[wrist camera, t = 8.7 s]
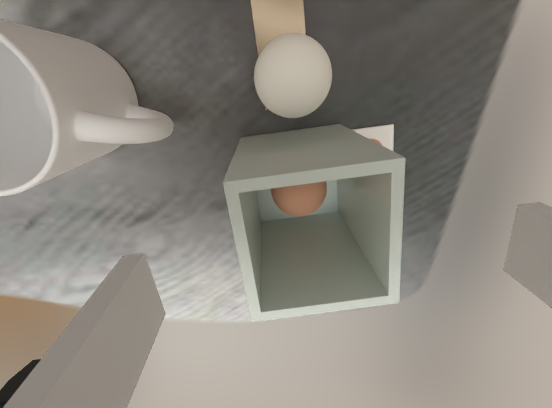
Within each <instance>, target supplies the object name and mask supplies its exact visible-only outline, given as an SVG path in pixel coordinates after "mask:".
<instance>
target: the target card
mask: <svg viewBox="0 0 552 408" xmlns="http://www.w3.org/2000/svg"><path fill="white" fill-rule="evenodd" d="M352 130H353V131H354V132H356V133H358V134H360V135H362V136H364V137H366V138H368V139H370V140H372V141H374V142H376V143H378V144H380V145H382V146H384V147H386V148H388V149H390V150H392V151H393V139H394V124H389V125H382V126H374V127H367V128H359V129H352Z"/></svg>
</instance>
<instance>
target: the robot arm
mask: <svg viewBox="0 0 552 408" xmlns="http://www.w3.org/2000/svg"><path fill="white" fill-rule="evenodd" d="M503 270H504V271H505V272H506V273H507V274H509V275H510V276H511V277H513V278H514V279H515V280H516V281H518V282H519V283H521V284H522V285H523V286H524V287H525V288H527V289H528V290H529V291H531V292H532V293H533V294H534V295H536V296H537V297H538V298H540V299H541V300H542V301H543V302H545V303H546V304H547V305H548V306H550V307H551V308H552V207H550V206H548V205H545V204H543V203H541V202H536V203H528V204H520V205H517V210H516V214H515V219H514V223H513V228H512V232H511V237H510V242H509V246H508V250H507V255H506V260H505V264H504V269H503ZM164 316H165V311H164V308H163V305H162V302H161V299H160V296H159V294H158V291H157V288H156V285H155V282H154V279H153V276H152V274H151V271H150V268H149V265H148V262H147V259H146V256H145V254H136V255H128V256H123V257H122V258H121V259H120V260H119V262H118V263H117V264H116V265H115V267H114V268H113V269H112V270H111V272H110V273H109V274H108V275H107V277H106V278H105V279H104V281H103V282H102V283H101V284H100V286H99V287H98V288H97V289H96V291H95V292H94V293H93V294H92V296H91V297H90V298H89V300H88V301H87V302H86V303H85V305H84V306H83V307H82V308H81V310H80V311H79V312H78V313H77V315H76V316H75V317H74V318H73V320H72V321H71V322H70V324H69V325H68V326H67V327H66V329H65V330H64V331H63V332H62V334H61V335H60V336H59V337H58V339H57V340H56V341H55V342H54V344H53V345H52V346H51V348H50V349H49V350H48V351H47V353H46V354H45V355H44V356H43V358H42V359H39V360H33V361H31V362H30V363H29V364H28V365H27V366H25V367H24V368H23V369H22V370H21V371H19V372H18V373H17V374H16V375H15V376H13V377H12V378H11V379H10V380H9V381H8V382H7V383H6V384H5V385H4V387H3V388H2V389H1V390H0V408H127V406H128V404H129V402H130V399H131V396H132V394H133V392H134V389H135V387H136V384H137V382H138V379H139V377H140V375H141V372H142V370H143V367H144V365H145V363H146V360H147V358H148V355H149V353H150V350H151V348H152V346H153V343H154V341H155V338H156V336H157V333H158V331H159V328H160V326H161V324H162V321H163V319H164Z"/></svg>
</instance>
